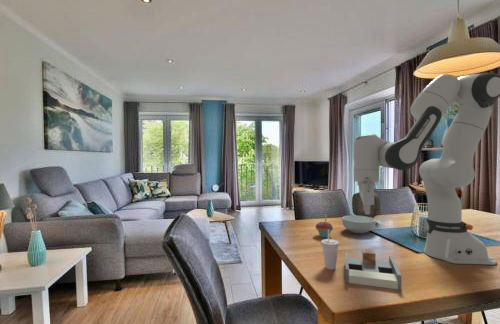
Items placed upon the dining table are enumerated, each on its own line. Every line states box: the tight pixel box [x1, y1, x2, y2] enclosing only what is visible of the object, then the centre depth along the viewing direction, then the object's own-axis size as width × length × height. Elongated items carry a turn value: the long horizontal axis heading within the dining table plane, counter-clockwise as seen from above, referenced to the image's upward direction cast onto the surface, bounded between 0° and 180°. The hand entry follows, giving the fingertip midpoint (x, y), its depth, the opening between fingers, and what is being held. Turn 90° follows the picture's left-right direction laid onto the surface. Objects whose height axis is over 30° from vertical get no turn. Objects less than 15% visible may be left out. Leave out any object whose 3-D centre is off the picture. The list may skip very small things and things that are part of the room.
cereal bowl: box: [341, 215, 377, 234], centre depth 142 cm, size 17×17×7 cm
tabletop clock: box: [351, 191, 381, 219], centre depth 163 cm, size 14×9×25 cm, turn 50°
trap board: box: [344, 251, 402, 291], centre depth 91 cm, size 16×16×4 cm
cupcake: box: [315, 214, 334, 238], centre depth 135 cm, size 9×8×12 cm
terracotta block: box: [361, 248, 377, 265], centre depth 95 cm, size 4×4×4 cm
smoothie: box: [320, 230, 340, 271], centre depth 98 cm, size 6×6×14 cm
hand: (366, 212), depth 102 cm, fingers open, 4 cm apart
